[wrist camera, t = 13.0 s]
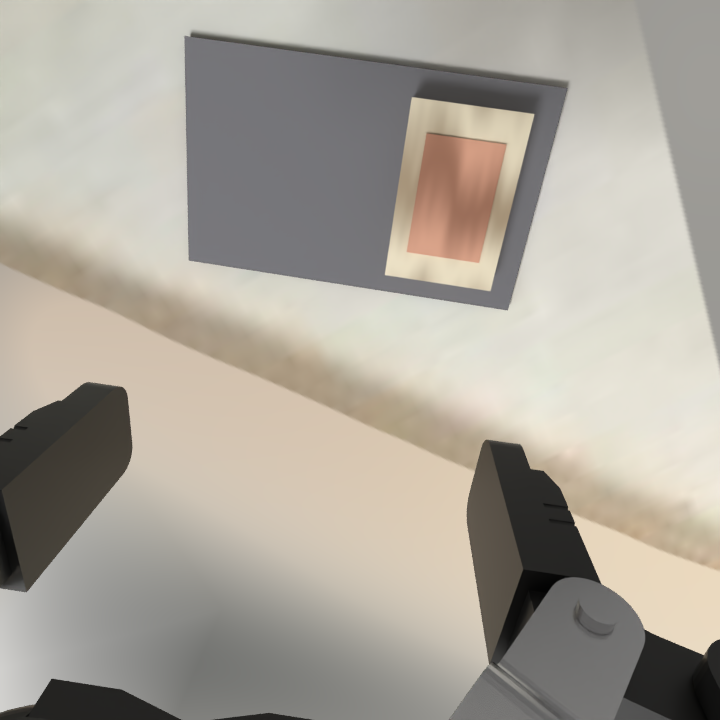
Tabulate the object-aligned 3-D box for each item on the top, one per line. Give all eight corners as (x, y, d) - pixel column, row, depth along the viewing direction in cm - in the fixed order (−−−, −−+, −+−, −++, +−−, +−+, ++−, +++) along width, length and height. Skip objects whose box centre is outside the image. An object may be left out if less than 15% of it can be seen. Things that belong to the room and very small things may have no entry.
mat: (192, 258, 32) (188, 260, 31) (189, 38, 27) (184, 35, 26) (506, 307, 31) (507, 310, 30) (564, 89, 26) (567, 88, 25)
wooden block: (411, 96, 24) (535, 113, 24) (412, 99, 26) (526, 115, 26) (384, 275, 28) (490, 291, 28) (386, 266, 30) (486, 281, 30)
